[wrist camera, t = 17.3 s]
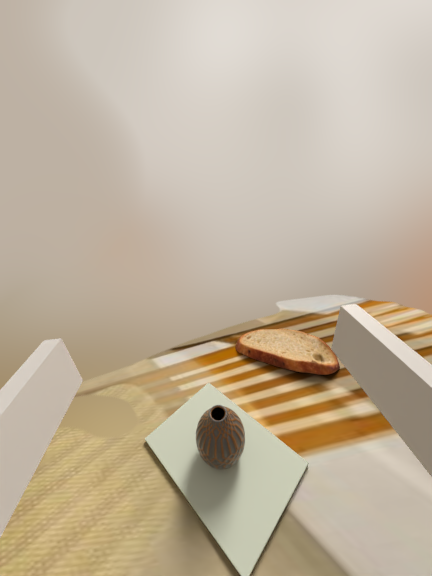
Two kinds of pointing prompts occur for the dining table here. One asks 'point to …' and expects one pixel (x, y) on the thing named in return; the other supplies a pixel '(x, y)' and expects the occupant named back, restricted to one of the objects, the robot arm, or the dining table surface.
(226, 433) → the vase
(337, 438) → the dining table surface
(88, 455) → the dining table surface
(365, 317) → the robot arm
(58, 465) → the dining table surface
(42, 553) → the dining table surface
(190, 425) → the mat
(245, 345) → the slice of bread
